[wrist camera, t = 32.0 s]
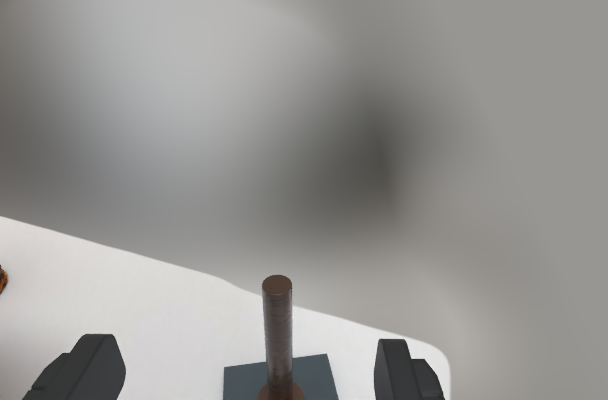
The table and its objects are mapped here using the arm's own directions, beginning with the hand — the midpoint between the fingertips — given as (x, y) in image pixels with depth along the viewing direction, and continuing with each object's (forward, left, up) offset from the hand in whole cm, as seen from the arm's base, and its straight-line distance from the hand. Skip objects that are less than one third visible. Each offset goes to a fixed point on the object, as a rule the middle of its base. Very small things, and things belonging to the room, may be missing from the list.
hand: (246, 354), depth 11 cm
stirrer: (-2, -11, -21) cm, 24 cm away
